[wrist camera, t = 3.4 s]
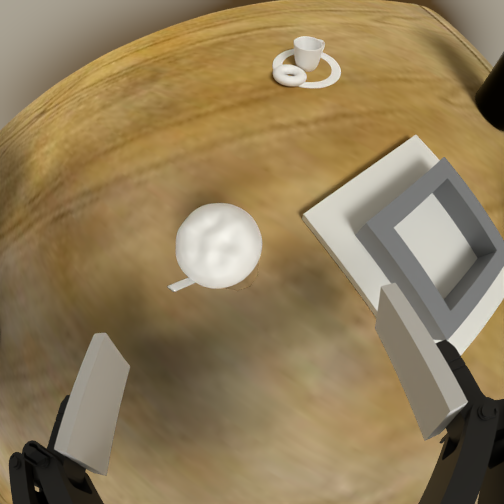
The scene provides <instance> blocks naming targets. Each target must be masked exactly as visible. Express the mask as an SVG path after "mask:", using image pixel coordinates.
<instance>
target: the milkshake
mask: <svg viewBox="0 0 504 504" xmlns="http://www.w3.org/2000/svg"><path fill="white" fill-rule="evenodd" d="M261 251H262V237H261V234H260V231H259V228H258V226H257V224H256V222H255V220H254V219H253V218H252V216H251V215H250V214H249V213H247V212H246V211H244V210H243V209H241V208H239V207H237V206H235V205H232V204H227V203H212V204H207V205H203V206H201V207H199V208H197V209H196V210H194V211H193V212H192V213H191V214H190V215H189V216H188V217H187V218H186V219H185V221H184V222H183V223H182V225H181V226H180V228H179V229H178V232H177V236H176V258H177V261H178V264H179V266H180V268H181V269H182V271H183V272H184V273H185V274H186V275H187V276H188V278H186V279H183V280H181V281H178V282H176V283H173V284H171V285H168V286H167V287H168V288H169V289H170V290H171V291H173V292H176V291H178V290H180V289H183V288H185V287H187V286H189V285H192V284H194V283H197V284H199V285H202V286H204V287H208V288H219V289H230V290H235V291H239V290H242V289H245V288H248V287H250V286H251V285H252V284H253V282H254V281H255V279H256V278H257V276H258V266H259V259H260V255H261Z"/></svg>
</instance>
